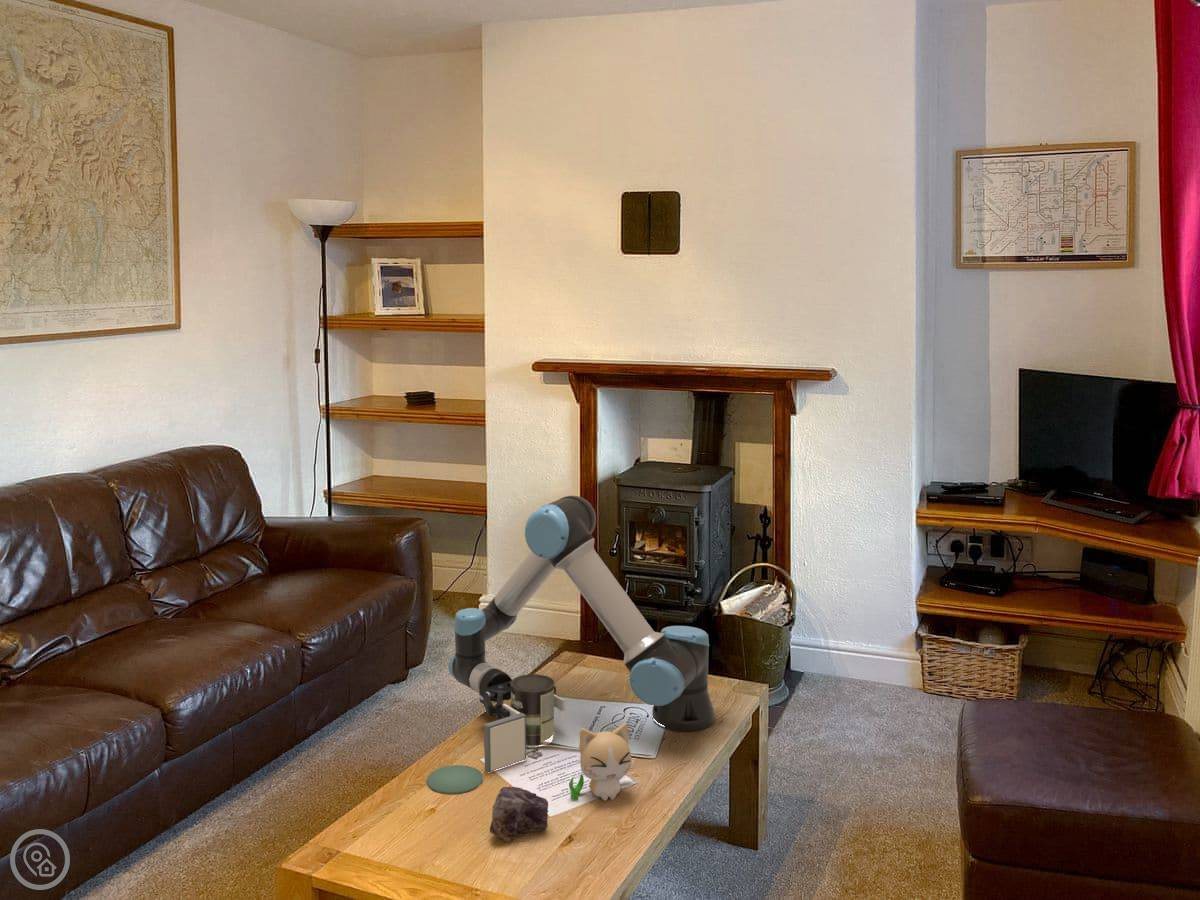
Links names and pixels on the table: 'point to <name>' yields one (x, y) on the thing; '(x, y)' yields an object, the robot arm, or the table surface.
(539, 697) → the coffee can
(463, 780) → the coaster
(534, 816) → the rock
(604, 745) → the kitten
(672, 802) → the table surface
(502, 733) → the slate tile
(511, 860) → the table surface
